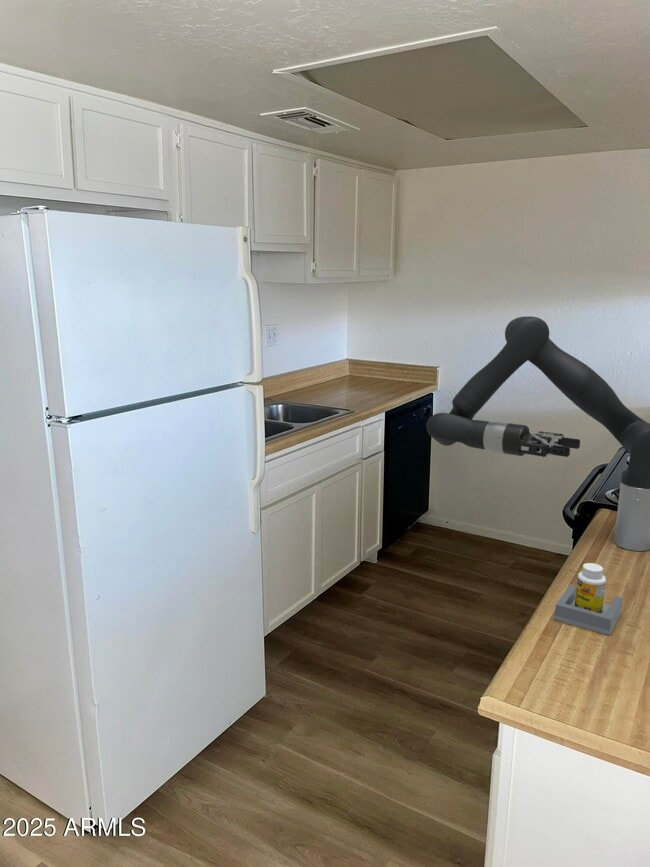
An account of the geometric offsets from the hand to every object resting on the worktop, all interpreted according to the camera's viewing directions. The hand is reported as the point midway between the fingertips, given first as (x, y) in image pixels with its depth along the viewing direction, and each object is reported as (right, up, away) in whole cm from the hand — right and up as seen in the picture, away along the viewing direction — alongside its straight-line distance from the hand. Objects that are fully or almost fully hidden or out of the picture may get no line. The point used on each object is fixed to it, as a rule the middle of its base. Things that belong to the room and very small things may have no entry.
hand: (574, 448), depth 151 cm
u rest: (-1, -36, -11) cm, 37 cm away
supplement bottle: (-1, -35, -11) cm, 36 cm away
